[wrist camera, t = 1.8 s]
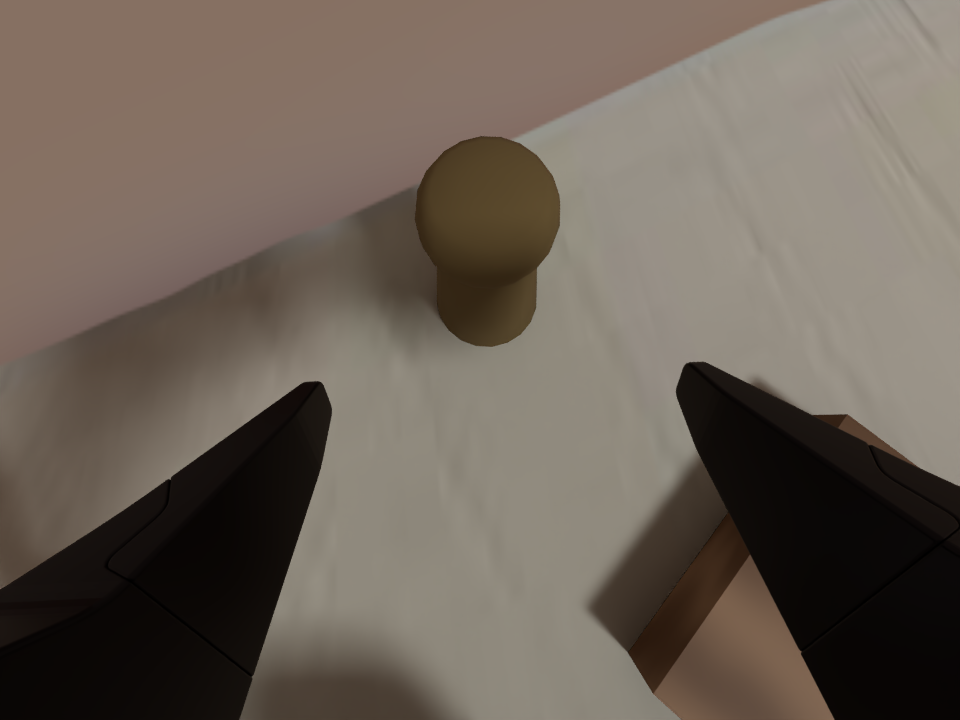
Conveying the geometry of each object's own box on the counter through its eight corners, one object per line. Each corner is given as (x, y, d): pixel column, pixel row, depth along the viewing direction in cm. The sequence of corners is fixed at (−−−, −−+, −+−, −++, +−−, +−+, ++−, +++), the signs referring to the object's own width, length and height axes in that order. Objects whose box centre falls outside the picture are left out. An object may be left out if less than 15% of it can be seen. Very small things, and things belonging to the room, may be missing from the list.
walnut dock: (940, 932, 18) (1032, 1036, 15) (628, 652, 20) (653, 693, 17) (1098, 644, 19) (1209, 684, 16) (797, 415, 21) (847, 414, 19)
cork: (441, 351, 22) (399, 286, 12) (433, 256, 23) (387, 112, 12) (542, 341, 22) (596, 266, 12) (530, 246, 23) (568, 94, 13)
